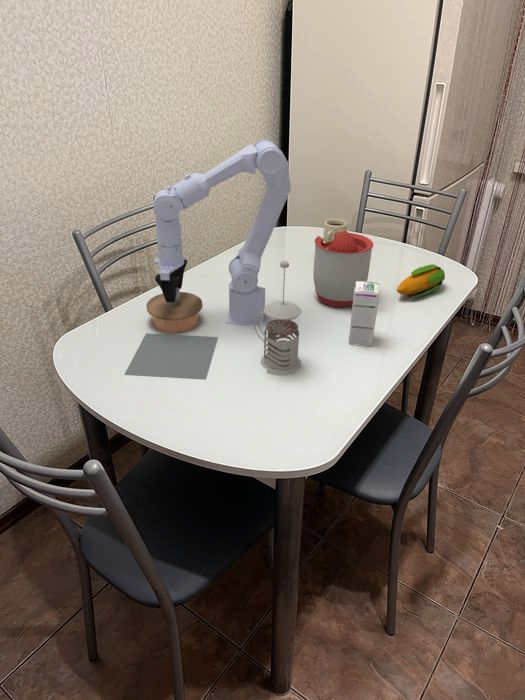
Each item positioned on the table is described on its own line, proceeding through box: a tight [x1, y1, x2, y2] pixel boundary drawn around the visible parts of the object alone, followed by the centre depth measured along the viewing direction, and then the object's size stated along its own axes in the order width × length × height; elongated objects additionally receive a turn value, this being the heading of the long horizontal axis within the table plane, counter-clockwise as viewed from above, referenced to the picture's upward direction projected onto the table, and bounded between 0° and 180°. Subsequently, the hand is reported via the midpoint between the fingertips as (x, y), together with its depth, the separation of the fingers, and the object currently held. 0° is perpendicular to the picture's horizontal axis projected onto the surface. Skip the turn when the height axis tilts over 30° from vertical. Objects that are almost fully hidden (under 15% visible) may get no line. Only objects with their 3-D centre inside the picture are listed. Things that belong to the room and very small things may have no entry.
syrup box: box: [348, 281, 380, 347], centre depth 124 cm, size 6×6×14 cm
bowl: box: [152, 313, 199, 333], centre depth 133 cm, size 11×11×4 cm
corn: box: [396, 264, 446, 299], centre depth 150 cm, size 7×8×20 cm
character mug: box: [322, 218, 348, 243], centre depth 167 cm, size 11×7×13 cm, turn 148°
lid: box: [146, 287, 203, 320], centre depth 131 cm, size 14×14×5 cm
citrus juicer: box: [312, 230, 374, 308], centre depth 143 cm, size 16×17×20 cm
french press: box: [253, 259, 302, 376], centre depth 113 cm, size 10×12×25 cm
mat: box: [124, 332, 219, 381], centre depth 120 cm, size 18×18×1 cm
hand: (174, 294), depth 130 cm, fingers open, 7 cm apart
